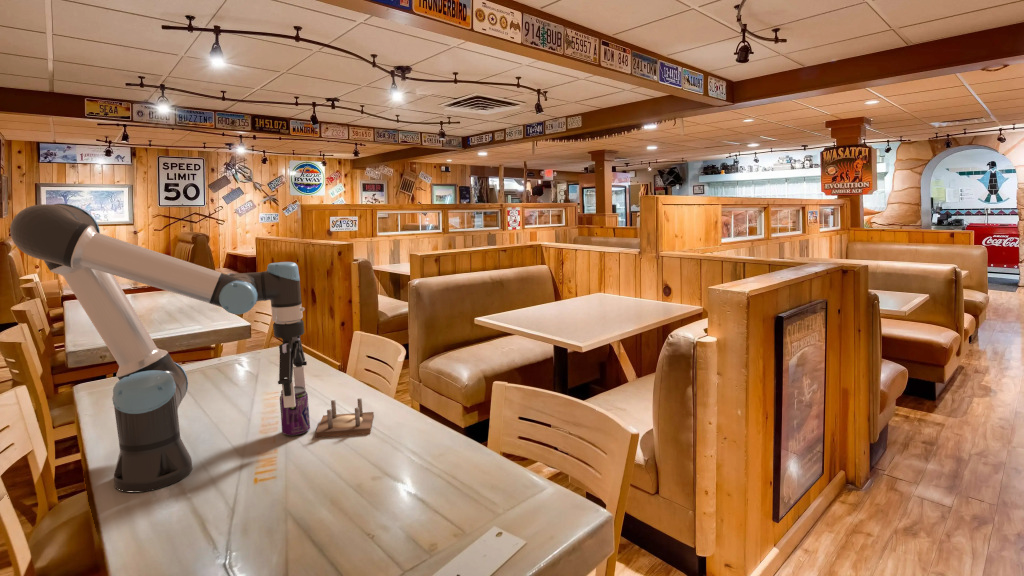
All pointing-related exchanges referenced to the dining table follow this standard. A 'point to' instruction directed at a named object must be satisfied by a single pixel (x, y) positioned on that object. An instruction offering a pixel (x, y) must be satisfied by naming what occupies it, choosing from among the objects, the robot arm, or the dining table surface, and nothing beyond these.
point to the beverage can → (295, 413)
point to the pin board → (345, 422)
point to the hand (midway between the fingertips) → (295, 397)
